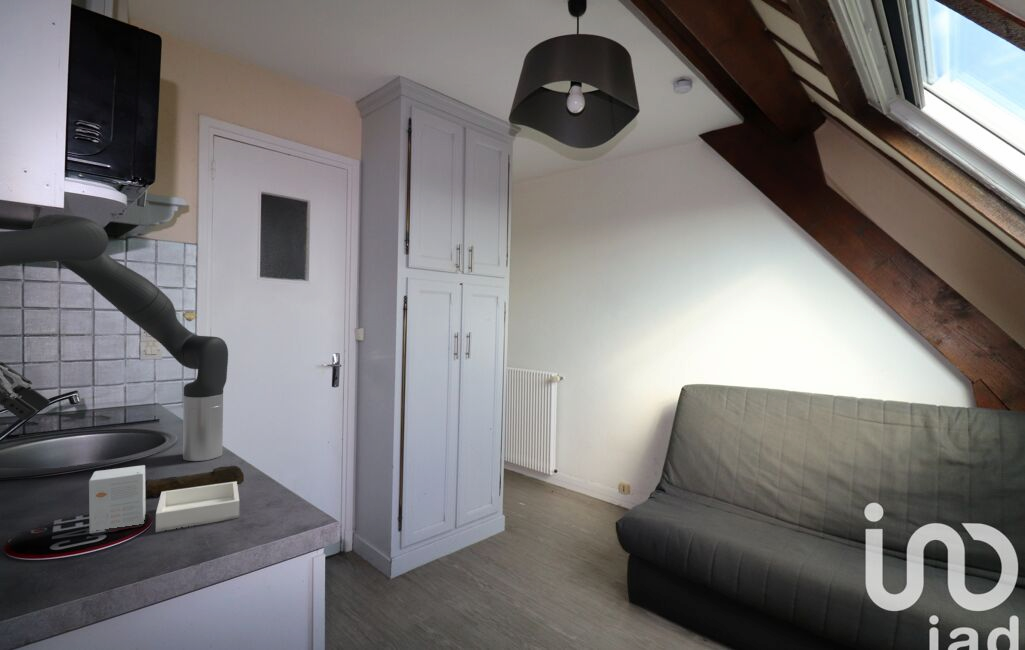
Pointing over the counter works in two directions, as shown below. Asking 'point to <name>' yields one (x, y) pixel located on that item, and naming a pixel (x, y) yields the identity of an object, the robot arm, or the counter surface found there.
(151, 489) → the hand tool
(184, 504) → the tray
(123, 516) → the small box
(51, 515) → the counter surface
